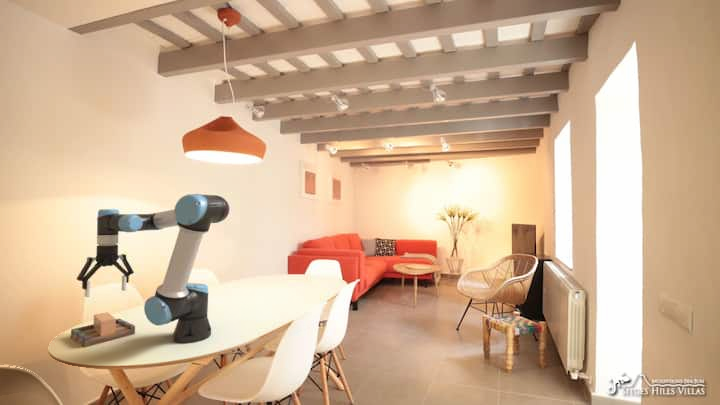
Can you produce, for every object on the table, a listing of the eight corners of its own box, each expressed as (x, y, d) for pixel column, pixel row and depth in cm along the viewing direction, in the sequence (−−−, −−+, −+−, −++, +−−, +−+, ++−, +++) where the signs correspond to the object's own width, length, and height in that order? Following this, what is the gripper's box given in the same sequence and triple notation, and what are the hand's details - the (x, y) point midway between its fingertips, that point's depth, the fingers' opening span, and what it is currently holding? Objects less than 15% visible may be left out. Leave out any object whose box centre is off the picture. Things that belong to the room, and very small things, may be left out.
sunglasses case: (115, 332, 145) (115, 318, 145) (100, 336, 141) (101, 321, 141) (107, 325, 153) (107, 312, 154) (93, 328, 150) (93, 314, 150)
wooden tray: (134, 334, 151) (135, 325, 151) (84, 347, 136) (85, 338, 136) (119, 326, 160) (119, 318, 160) (70, 338, 145) (71, 329, 145)
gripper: (135, 241, 160) (134, 287, 160) (68, 246, 140) (66, 298, 139) (142, 243, 156) (141, 289, 156) (74, 247, 135) (73, 301, 135)
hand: (106, 293), depth 148 cm, fingers open, 13 cm apart
